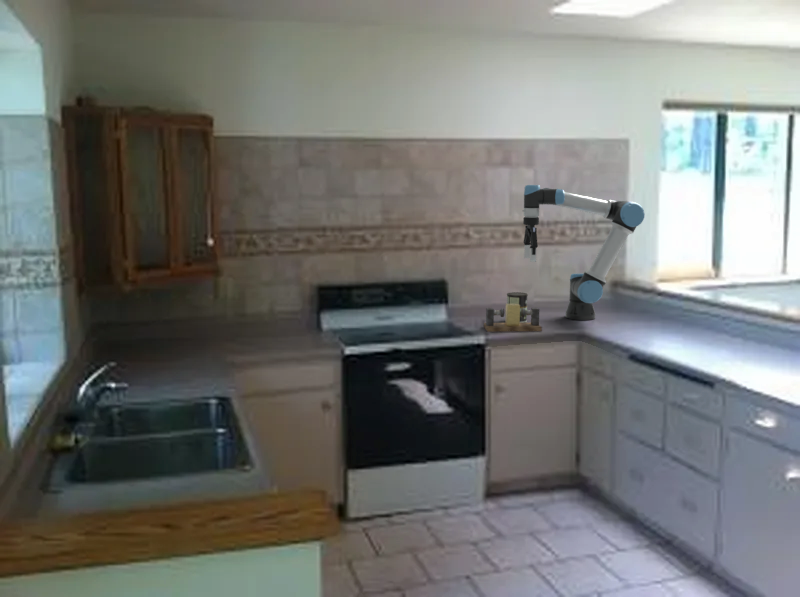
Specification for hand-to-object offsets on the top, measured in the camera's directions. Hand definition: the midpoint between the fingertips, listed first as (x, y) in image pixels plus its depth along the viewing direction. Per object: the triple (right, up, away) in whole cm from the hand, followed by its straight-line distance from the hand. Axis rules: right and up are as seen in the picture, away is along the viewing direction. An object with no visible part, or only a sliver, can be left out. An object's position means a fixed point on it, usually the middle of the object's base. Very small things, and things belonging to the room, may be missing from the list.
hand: (529, 259), depth 395 cm
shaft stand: (-10, -34, -10) cm, 37 cm away
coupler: (-10, -32, -10) cm, 35 cm away
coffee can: (-5, -31, +9) cm, 33 cm away
